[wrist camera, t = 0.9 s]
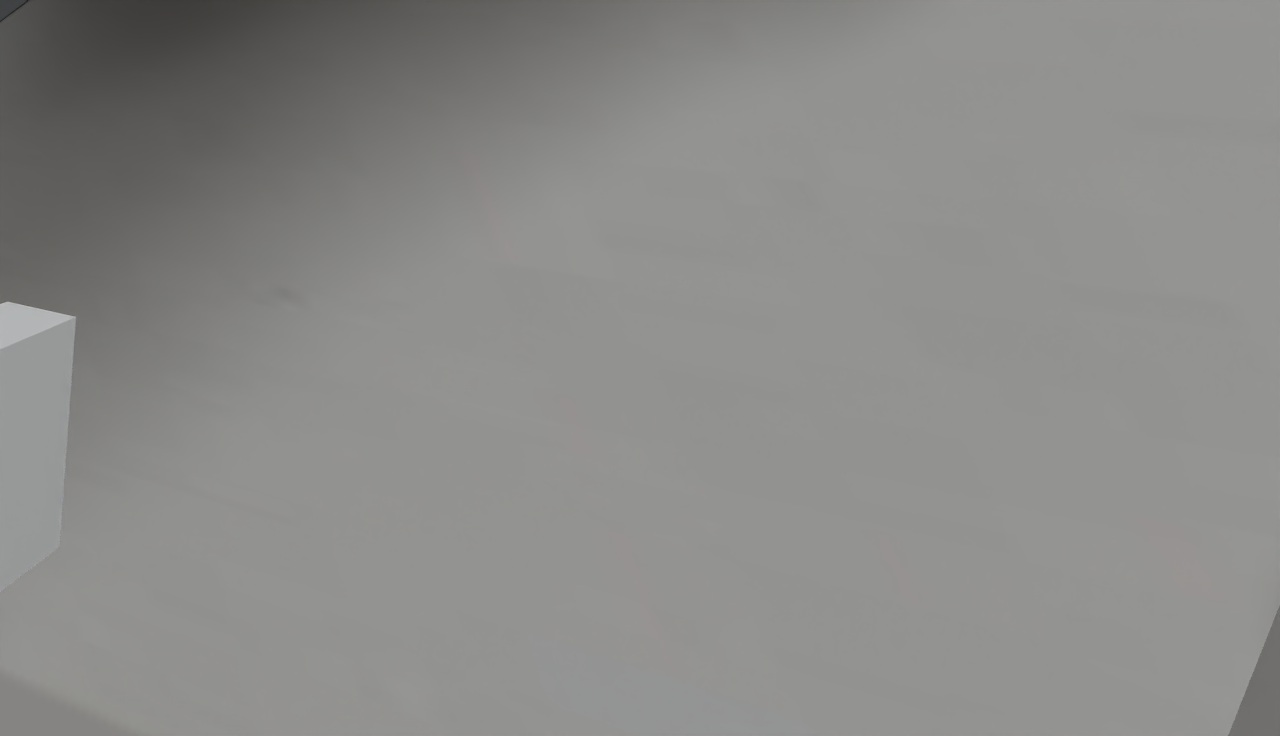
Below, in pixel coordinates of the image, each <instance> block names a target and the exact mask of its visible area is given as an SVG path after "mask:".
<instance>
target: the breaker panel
mask: <svg viewBox="0 0 1280 736" xmlns="http://www.w3.org/2000/svg"><path fill="white" fill-rule="evenodd" d="M26 1H27V0H0V21H1V20H2V19H3V18H5V17H6V16H7V15H9V14H10V13H11V12H13V11H14V10H15V9H17V8H18V7H19V6H21V5H22V4H23V3H25V2H26Z"/></svg>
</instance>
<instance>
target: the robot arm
mask: <svg viewBox="0 0 1280 736" xmlns="http://www.w3.org/2000/svg"><path fill="white" fill-rule="evenodd" d="M75 325H76V317H74V316H70V315H65V314H61V313H56V312H52V311H47V310H43V309H38V308H34V307H29V306H25V305H20V304H16V303H11V302H5V303H2V304H0V592H1V591H2V590H3V589H5V588H6V587H7V586H9V585H10V584H11V583H13V582H14V581H15V580H17V579H18V578H19V577H21V576H22V575H23V574H25V573H26V572H27V571H29V570H30V569H31V568H33V567H34V566H35V565H37V564H38V563H39V562H40V561H42V560H43V559H44V558H46V557H47V556H48V555H50V554H51V553H52V552H54V551H55V550H56V549H58V548H59V547H60V533H61V519H62V505H63V492H64V478H65V464H66V450H67V436H68V422H69V408H70V394H71V380H72V367H73V353H74V339H75ZM1228 736H1280V606H1279V609H1278V611H1277V614H1276V616H1275V619H1274V621H1273V624H1272V627H1271V629H1270V632H1269V634H1268V637H1267V639H1266V642H1265V644H1264V647H1263V649H1262V652H1261V654H1260V657H1259V659H1258V662H1257V664H1256V667H1255V669H1254V672H1253V675H1252V677H1251V680H1250V682H1249V685H1248V687H1247V690H1246V692H1245V695H1244V697H1243V700H1242V702H1241V705H1240V707H1239V710H1238V712H1237V715H1236V718H1235V720H1234V723H1233V725H1232V728H1231V730H1230V733H1229V735H1228Z"/></svg>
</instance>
